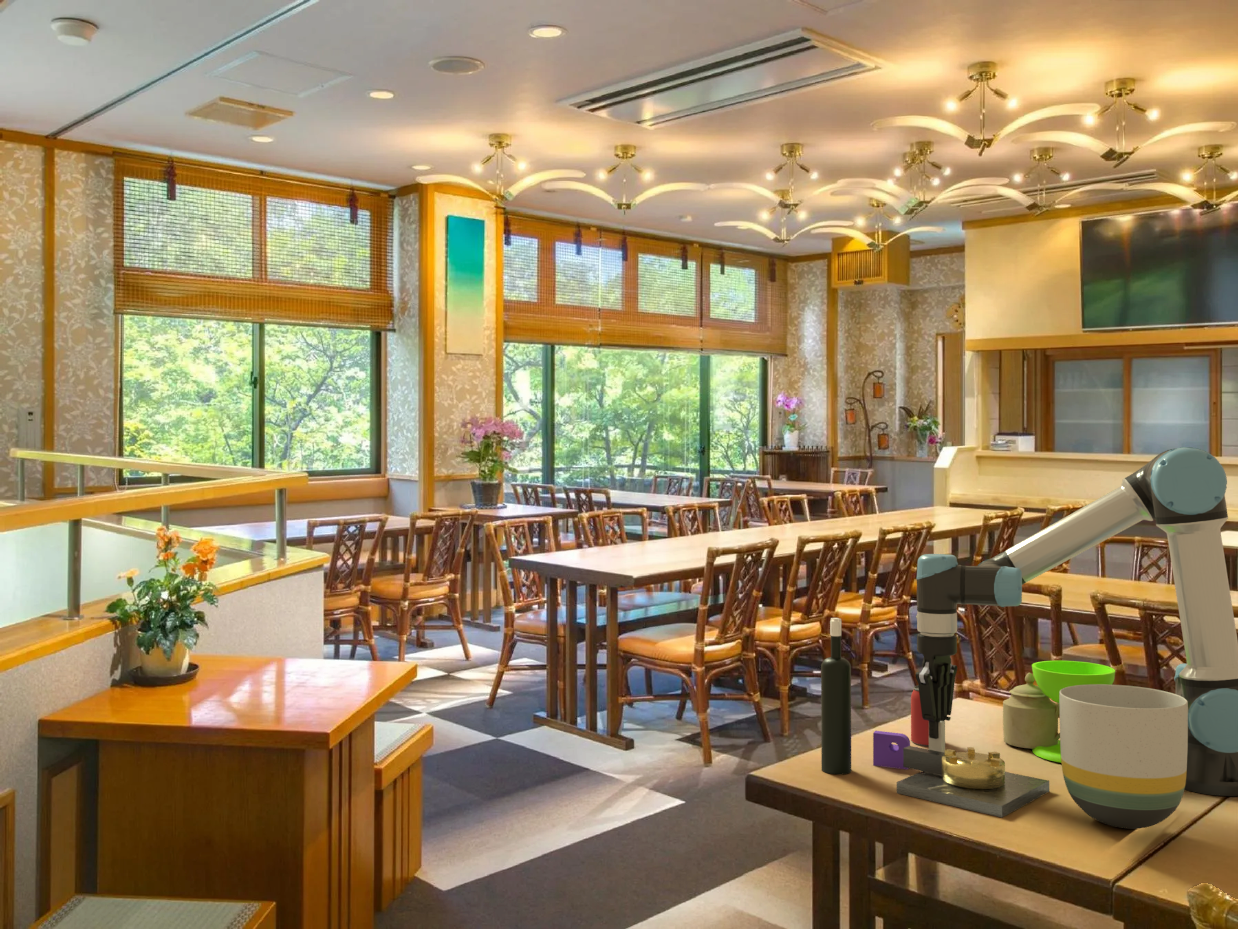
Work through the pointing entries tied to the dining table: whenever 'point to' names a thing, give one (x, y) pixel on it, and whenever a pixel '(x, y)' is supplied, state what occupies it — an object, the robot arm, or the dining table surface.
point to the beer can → (918, 721)
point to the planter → (1124, 752)
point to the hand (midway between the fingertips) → (936, 753)
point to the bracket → (889, 749)
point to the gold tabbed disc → (958, 766)
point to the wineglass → (1061, 676)
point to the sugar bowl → (1030, 717)
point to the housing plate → (976, 792)
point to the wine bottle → (836, 707)
